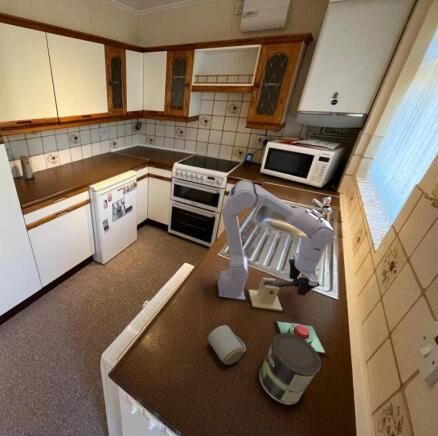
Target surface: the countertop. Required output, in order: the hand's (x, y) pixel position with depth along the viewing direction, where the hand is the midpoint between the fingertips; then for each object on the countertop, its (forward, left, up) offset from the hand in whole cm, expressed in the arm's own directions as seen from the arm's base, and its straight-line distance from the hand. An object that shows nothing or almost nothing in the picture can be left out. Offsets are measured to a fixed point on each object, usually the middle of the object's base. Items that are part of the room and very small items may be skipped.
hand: (296, 286), depth 83 cm
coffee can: (-12, -29, -10) cm, 33 cm away
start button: (-2, -14, -7) cm, 16 cm away
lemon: (+10, +12, -10) cm, 19 cm away
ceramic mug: (-25, -22, -10) cm, 34 cm away
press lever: (-4, 0, -1) cm, 4 cm away
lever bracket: (-9, 0, -9) cm, 13 cm away
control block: (-2, -14, -9) cm, 17 cm away
